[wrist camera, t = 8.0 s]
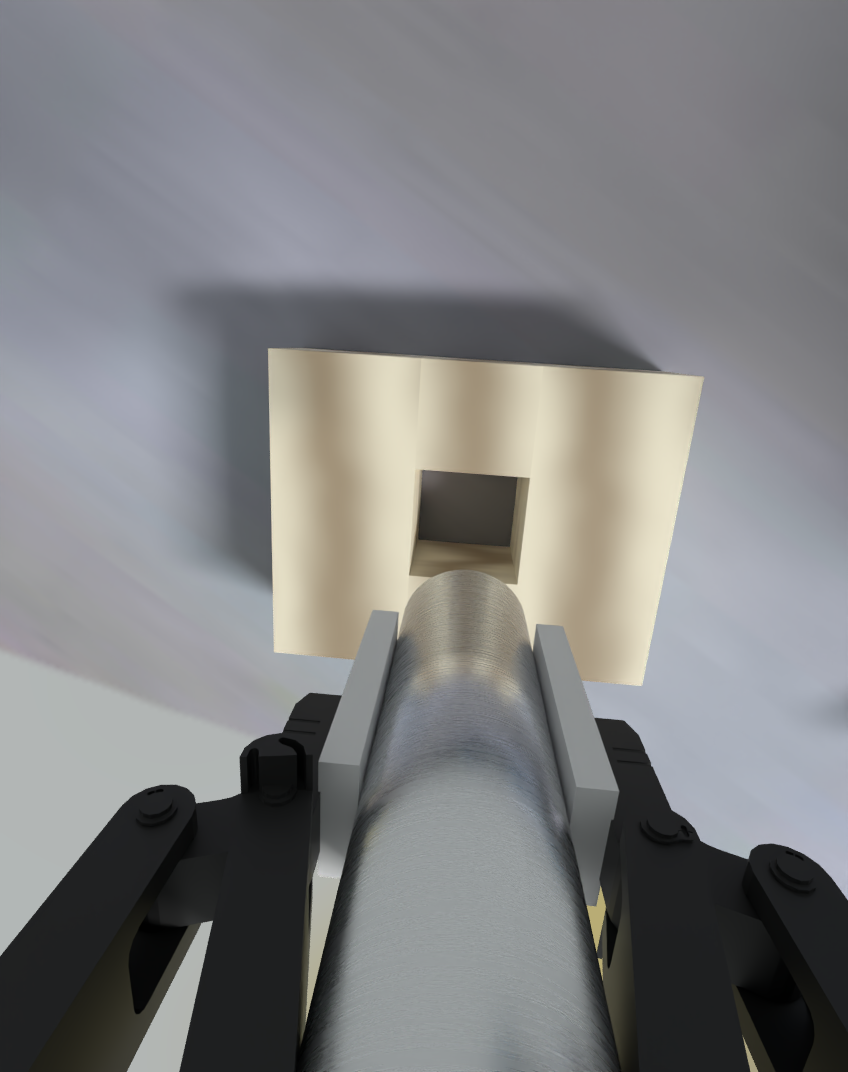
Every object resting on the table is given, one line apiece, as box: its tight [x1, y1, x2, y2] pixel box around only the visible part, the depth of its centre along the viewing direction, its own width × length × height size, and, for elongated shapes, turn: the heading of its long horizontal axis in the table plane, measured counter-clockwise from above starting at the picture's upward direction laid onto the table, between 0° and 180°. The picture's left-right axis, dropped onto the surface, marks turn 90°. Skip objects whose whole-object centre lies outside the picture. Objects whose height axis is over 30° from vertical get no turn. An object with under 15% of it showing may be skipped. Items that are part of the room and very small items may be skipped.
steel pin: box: [297, 570, 622, 1072], centre depth 13 cm, size 4×4×14 cm
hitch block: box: [268, 348, 704, 686], centre depth 32 cm, size 20×16×6 cm
